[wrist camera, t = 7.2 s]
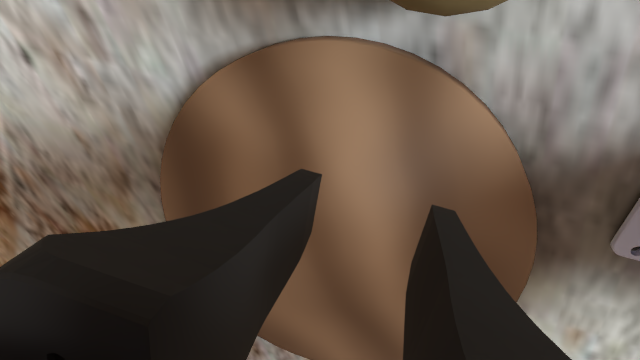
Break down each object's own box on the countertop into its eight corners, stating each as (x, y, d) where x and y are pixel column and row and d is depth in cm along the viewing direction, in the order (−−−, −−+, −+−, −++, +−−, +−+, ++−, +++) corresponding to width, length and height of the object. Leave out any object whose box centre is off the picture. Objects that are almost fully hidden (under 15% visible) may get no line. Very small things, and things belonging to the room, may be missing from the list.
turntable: (461, -50, 16) (466, -55, 11) (571, 332, 22) (601, 420, 18) (114, 120, 24) (42, 153, 20) (268, 362, 30) (239, 427, 26)
